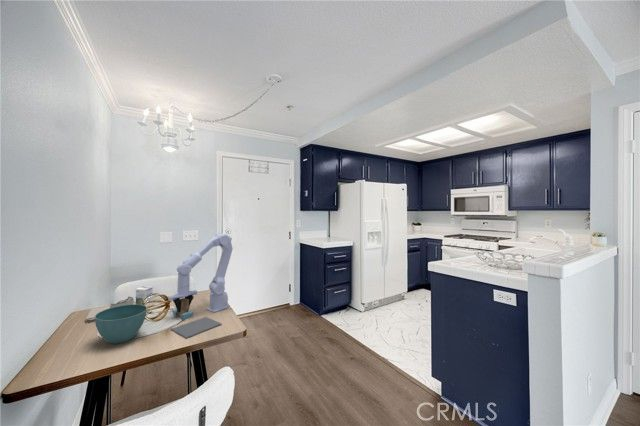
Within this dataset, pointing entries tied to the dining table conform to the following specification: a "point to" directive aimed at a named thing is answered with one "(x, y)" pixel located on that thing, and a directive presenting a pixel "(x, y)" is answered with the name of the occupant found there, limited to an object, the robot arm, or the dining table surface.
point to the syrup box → (143, 294)
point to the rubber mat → (195, 327)
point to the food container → (123, 302)
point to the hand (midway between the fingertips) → (183, 310)
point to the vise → (184, 315)
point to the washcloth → (94, 313)
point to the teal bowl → (120, 322)
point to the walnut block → (184, 306)
